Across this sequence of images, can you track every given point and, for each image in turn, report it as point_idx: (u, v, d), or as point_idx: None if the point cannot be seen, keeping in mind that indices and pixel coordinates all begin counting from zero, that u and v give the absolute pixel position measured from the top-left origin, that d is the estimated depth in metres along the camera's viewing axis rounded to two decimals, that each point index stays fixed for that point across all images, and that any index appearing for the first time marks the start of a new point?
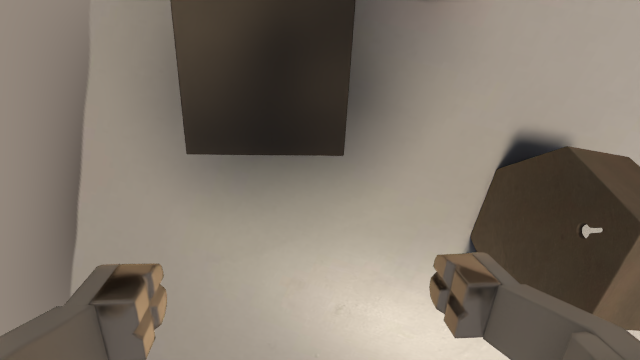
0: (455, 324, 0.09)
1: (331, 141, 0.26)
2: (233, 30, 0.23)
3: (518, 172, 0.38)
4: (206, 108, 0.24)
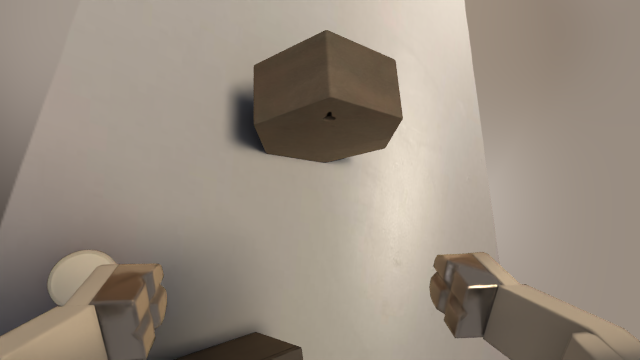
0: (455, 324, 0.09)
1: None
2: None
3: (272, 144, 0.42)
4: None
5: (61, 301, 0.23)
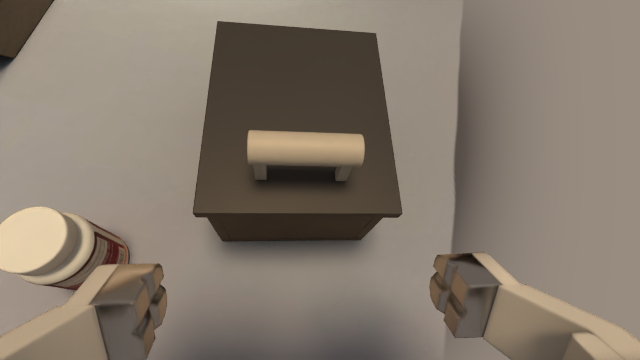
0: (455, 324, 0.09)
1: (230, 33, 0.24)
2: (333, 124, 0.22)
3: None
4: (358, 65, 0.25)
5: (45, 261, 0.19)
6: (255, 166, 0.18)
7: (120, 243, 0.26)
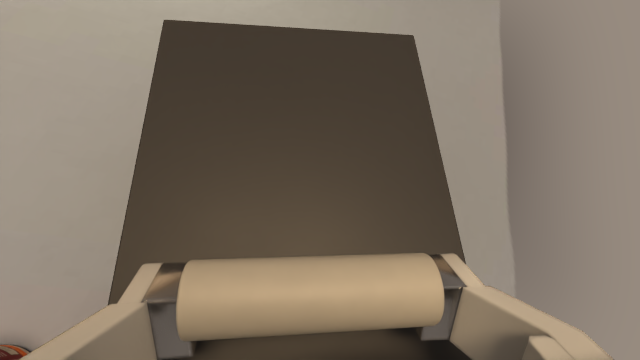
0: (420, 327, 0.09)
1: (184, 39, 0.15)
2: (356, 195, 0.13)
3: None
4: (390, 88, 0.15)
5: None
6: None
7: None
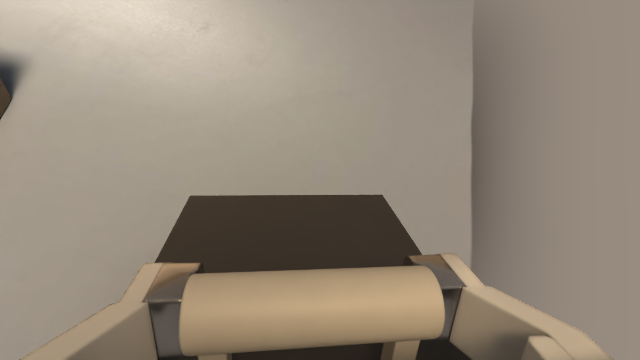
0: None
1: (204, 204, 0.19)
2: None
3: None
4: (371, 222, 0.19)
5: None
6: None
7: None
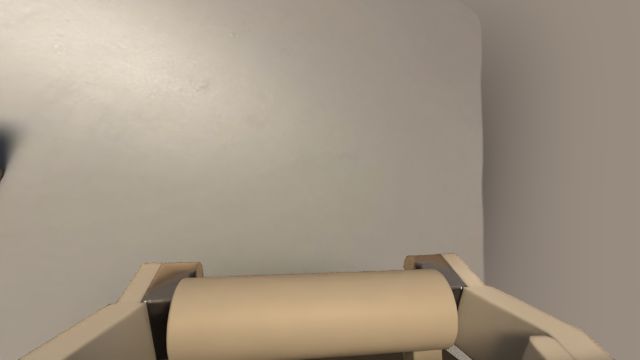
0: None
1: None
2: None
3: None
4: None
5: None
6: None
7: None
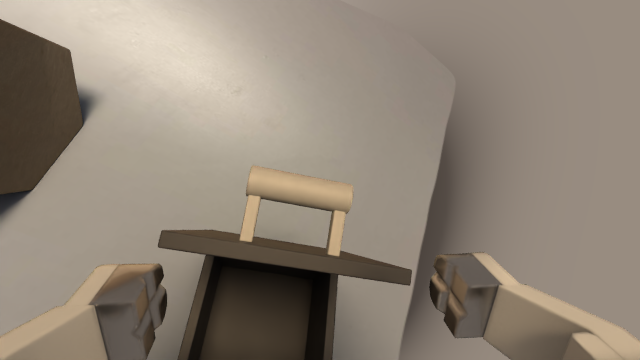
0: (455, 325, 0.09)
1: None
2: (317, 250, 0.23)
3: (8, 182, 0.34)
4: None
5: None
6: (248, 206, 0.18)
7: None
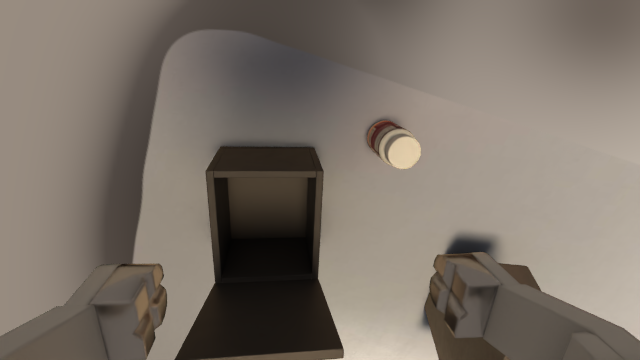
0: (455, 324, 0.09)
1: None
2: None
3: None
4: None
5: (395, 141, 0.37)
6: None
7: (371, 147, 0.44)
